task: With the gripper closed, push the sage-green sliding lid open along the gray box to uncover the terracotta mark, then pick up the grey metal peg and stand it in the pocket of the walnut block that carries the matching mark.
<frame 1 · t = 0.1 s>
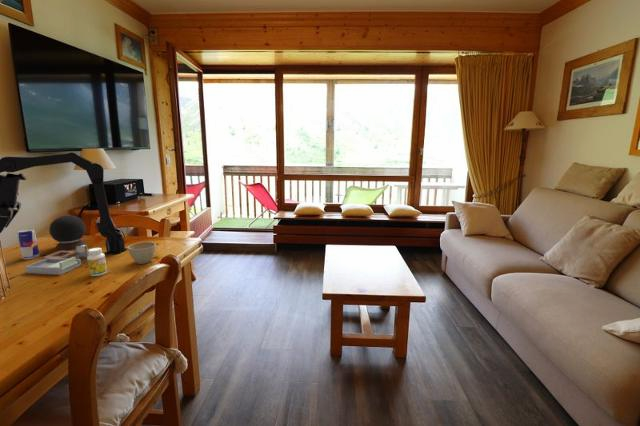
hand: (1, 230, 116), 15 cm above the table, tool pointing down, fingers open, 9 cm apart
supplement bottle: (98, 274, 115), on the table
peg: (83, 258, 131), on the table
lid: (61, 262, 118), point 3 cm above the table, slide at 0.0 cm
dark ball on stand: (71, 246, 145), on the table
socket board: (61, 259, 128), on the table
energy drink: (31, 257, 131), on the table
light gray bowl: (143, 262, 127), on the table
gray box: (54, 268, 119), on the table
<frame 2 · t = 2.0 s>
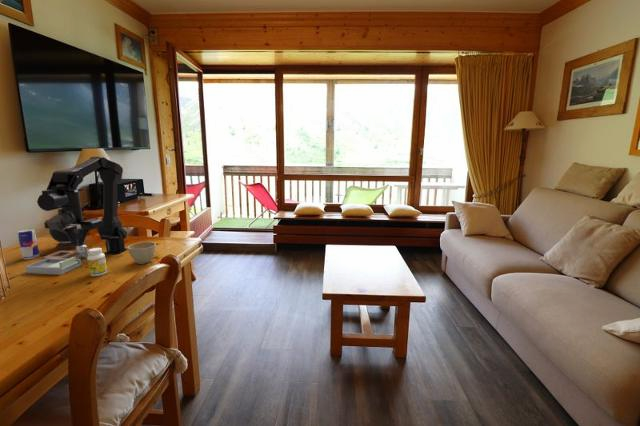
hand: (78, 245, 116), 10 cm above the table, tool pointing down, fingers closed
nothing on the table moved.
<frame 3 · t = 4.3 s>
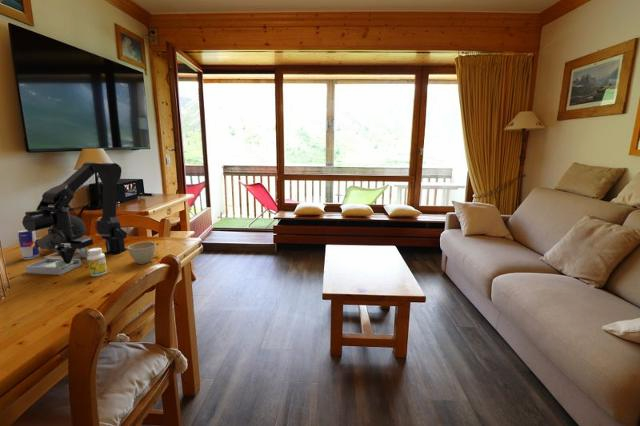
hand: (68, 263, 118), 3 cm above the table, tool pointing down, fingers closed
lid: (58, 262, 118), point 3 cm above the table, slide at 1.5 cm, touching gripper
everything else where it was.
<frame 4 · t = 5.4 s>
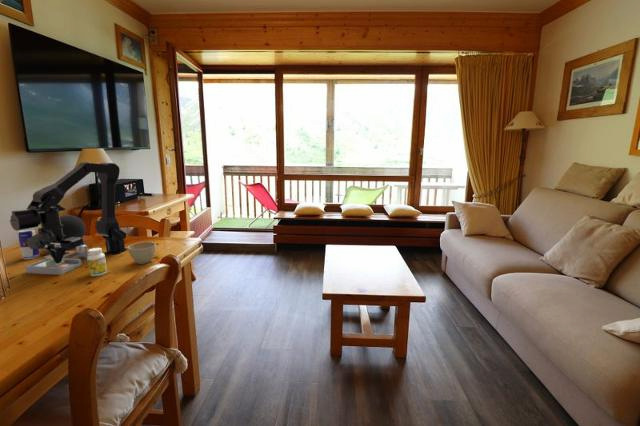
hand: (58, 263, 118), 3 cm above the table, tool pointing down, fingers closed
lid: (48, 262, 119), point 3 cm above the table, slide at 5.5 cm, touching gripper
everything else where it was.
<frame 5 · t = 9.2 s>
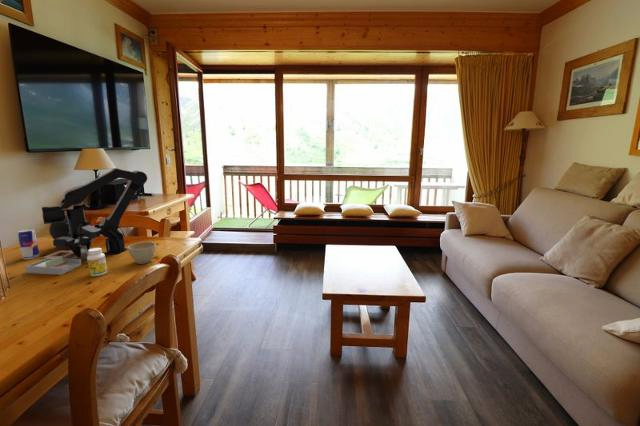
hand: (82, 255, 130), 1 cm above the table, tool pointing down, fingers closed on peg, 3 cm apart
peg: (83, 257, 131), on the table, touching gripper
lid: (48, 262, 119), point 3 cm above the table, slide at 5.6 cm
everything else where it was.
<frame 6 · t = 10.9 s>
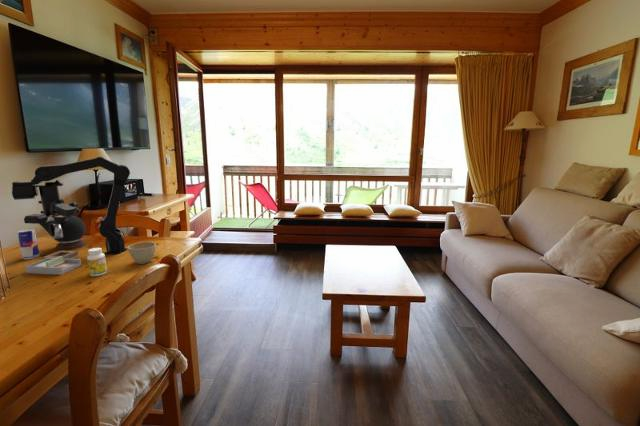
hand: (57, 235, 126), 11 cm above the table, tool pointing down, fingers closed on peg, 3 cm apart
peg: (57, 237, 126), point 10 cm above the table, touching gripper
everything else where it was.
when the fingers open (3 cm above the table, at t = 12.5 s): peg stays where it is, resting on socket board.
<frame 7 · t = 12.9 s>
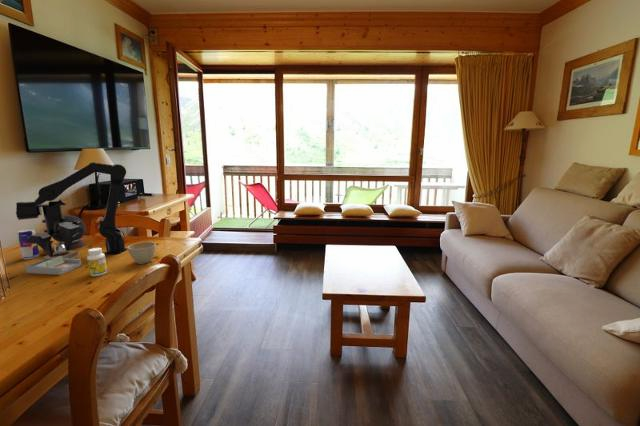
hand: (60, 253, 128), 3 cm above the table, tool pointing down, fingers open, 8 cm apart
peg: (61, 257, 128), point 1 cm above the table, touching socket board
everything else where it was.
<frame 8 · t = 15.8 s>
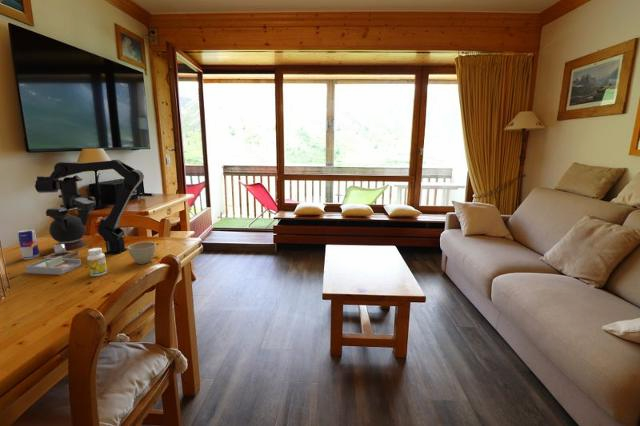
hand: (75, 227, 132), 12 cm above the table, tool pointing down, fingers open, 9 cm apart
nothing on the table moved.
at the end: lid slide at 5.6 cm; peg 0.0 cm off-centre on the socket board, point 1.1 cm above the socket board's base; peg tilted 1° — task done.
